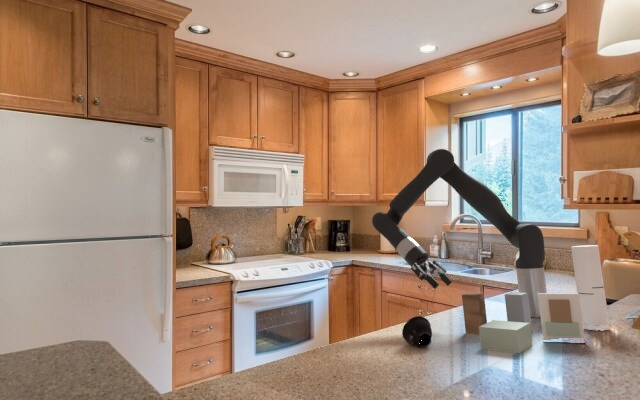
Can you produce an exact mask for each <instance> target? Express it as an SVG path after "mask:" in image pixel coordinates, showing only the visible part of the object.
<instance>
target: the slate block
mask: <svg viewBox="0 0 640 400" xmlns="http://www.w3.org/2000/svg"><path fill="white" fill-rule="evenodd" d="M504 299H505V300H504V301H505V310H506V311H505V312H506V320H507V321H510V322H524V323H530V330H531V334H533V328H532V327H533V326H532V319H531V318H532V317H530V308H529V300H528V293H519V291H518V292H517V291H516V292H515V291H514V292H513V291H511V292H507V293H505V294H504Z"/></svg>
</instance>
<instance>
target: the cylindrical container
mask: <svg viewBox="0 0 640 400" xmlns="http://www.w3.org/2000/svg"><path fill="white" fill-rule="evenodd" d="M570 248H571V256H572V257H571V258H572V262H573V263H572V264H573V270H574V278H575V279H574V281H575V286H576V287H575V288H576V293H579V297H580V305H581V312H582V320H583V323H586V324H592V325H603V324H608V323H609V313H608V304H607V299H606V291H605V283H604V277H603V269H602V261H601V254H600V249H599V245H598V244H597V245H596V244H595V245H594V244H593V245H591V244H589V245H587V244H586V245H576V246H575V245H572V246H570ZM609 324H610V323H609Z"/></svg>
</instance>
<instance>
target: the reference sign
mask: <svg viewBox="0 0 640 400" xmlns="http://www.w3.org/2000/svg"><path fill="white" fill-rule="evenodd" d="M538 300H539V308H540V317H539V318H540V325H541V332H542V341H543V340H551V339H559V338H585V339H586V337H585V330H584V328H583V320H582V312H581V305H580V297H579V293H578V292H557V293H556V292H547V293H538Z"/></svg>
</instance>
